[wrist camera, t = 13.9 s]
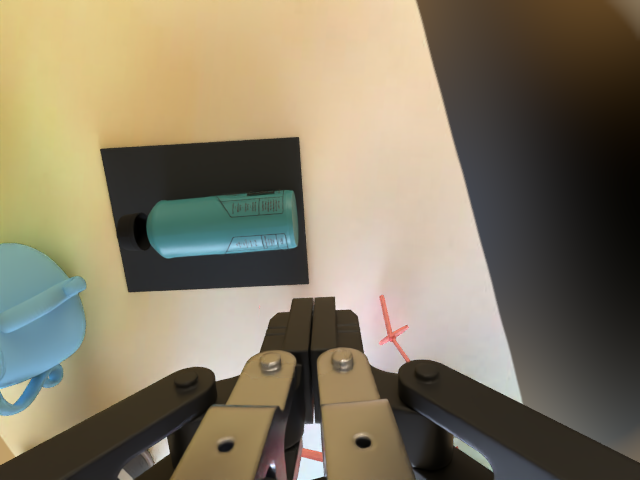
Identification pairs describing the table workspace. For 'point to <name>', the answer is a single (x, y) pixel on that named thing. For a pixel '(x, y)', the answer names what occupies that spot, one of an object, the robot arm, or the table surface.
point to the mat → (203, 181)
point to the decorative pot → (36, 321)
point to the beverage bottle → (214, 225)
